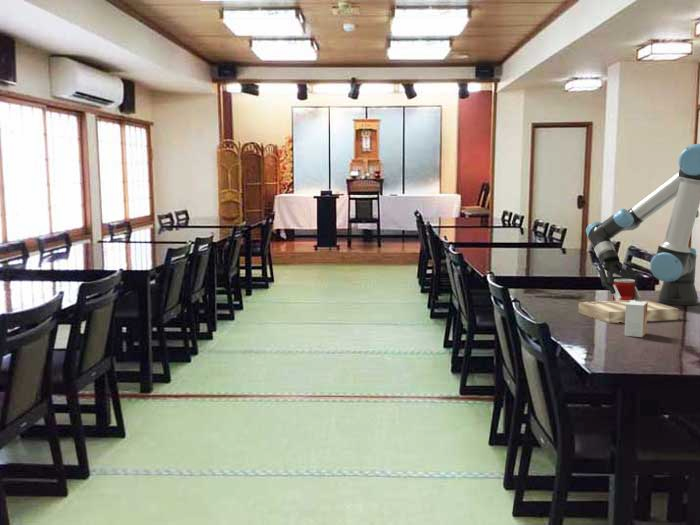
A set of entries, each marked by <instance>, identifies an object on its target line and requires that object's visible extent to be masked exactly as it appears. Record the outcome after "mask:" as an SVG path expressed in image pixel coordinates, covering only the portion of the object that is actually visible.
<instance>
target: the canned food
mask: <svg viewBox="0 0 700 525" xmlns="http://www.w3.org/2000/svg"><path fill="white" fill-rule="evenodd" d="M613 285H616V287H617V289H618V292H619V294H620V296H621V299H620V300H619V301H622V300H635V298H634V297H635V280H633V279H623V278H622V277H620V278H613ZM612 301H616V299H615V297H614V295H613V294H612Z"/></svg>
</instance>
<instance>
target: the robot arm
mask: <svg viewBox="0 0 700 525" xmlns="http://www.w3.org/2000/svg"><path fill="white" fill-rule="evenodd" d="M678 166H679V169H678V171H676V173H673V175H672V176H671V177H670V178H668V179H667V180H665V181H664V182H663V183H661V184H660V185H659V186H658V187H656V188H655V189H654V190H652V191H651V192H650V193H649V194H647V195H646V196H645V197H644V198H642V199H641V200H640V201H638V202H637V203H635V204H634V205H632V207H631V208H628V209H626V208H620V209H619V210H618V211H615V212H614V213H613V214H612V215H610V216H609V217H608V218H606V219H605V220H604V221H603V222H601V221H595V222H593V223H590V224H588V225H587V227H586V229H585V233H586V235H587V236H586V237H587V238H588V240H589V242H590V245H591V246H592V249H593V250H594V252H595V255H596V257H597V258H598V261H599V264H598V266H597V267H596V270H597V272H598V274H599V278H600V282H601V285H602V287H603V288H606V290H609V291H610V293H611V294H612V296H613V295H614V297H615V299H616V301H619V300H620V299H621V296H620V294H619V292H618V289H617V287H616V285H614V278H613V277H614V274H615V275H618V276H619V277H620V278H623V279H633V280H635V297H634V300H641V297H642V296H641V294H640V290H639V287H638V284H639V283H640V280H639V278H638V277H637V276H636V274H635V273H634V272H633V270H632V269H631V267H630V264H629V263H625V264H623V263H622V262H621V261H620V257H619V256H620V255H618V253H617V251H616V249H615V246H614V244H613V242H612V241H611V239H613V238H614V237H615V236H617V235H619V234H620V233H621V232H626V231H634V230H635V229H637V228H639V227H640V225H641V224H642V223H643V222H644V221H645V220H647V219H648V218H650V217H651V216H652V215H653V214H655V213H657V212H658V211H659V210H660V209H662V208H663V207H664V206H666V205H667V204H668V203H670V202H672V200H674V199H675V201H674V204H673V207H672V212H671V215H670V217H669V218H670V219H669V223H668V226H667V230H666V232H665V237H664V241H662V242H661V243H659V244H658V248H657V250H656V254H655V255H654V256H653V257H652V258H651V260H650V262H649V263H650V264H649V268H650V272H651V274H652V275H653V277H654V278H656V279H657V280H659V281H661V282H662V286H661V287H660V291H659V294H658V296H657V303H660V304H664V305H675V306H696V305H698V304H699V297H698V293H697V289H696V286H695V282H696V281H695V280H696V268H697V267H696V263H697V258H698V257H697V256H698V255H697V250H696V249H695V248H694V247H689V246H688V245H689V242H690V239H691V236H692V231H693V228H694V224H695V222H696V218H697V214H698V211H699V208H700V143H695V144H691V145H688V146H687V147H686V148H684V149H683V150H682V151H681V153H680V154H679V156H678Z"/></svg>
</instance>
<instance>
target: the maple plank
mask: <svg viewBox="0 0 700 525" xmlns="http://www.w3.org/2000/svg"><path fill="white" fill-rule="evenodd" d="M630 301H639V302H648V306H647V322H655V321H656V322H658V321H659V322H661V321H678V320H679V310H680V309H679V308H677V307H674V306H669V305H667V304H663V303H660V302H654V301H650V300H647V299H639V300H635V299H634V300H622V301H613V300H605V301H604V300H602V301H583V302H582V301H581V302H580V301H579V302H578V313H579V314H581V315H584V316H587V317H589V318H592V317H593V319H595V318H596V319H595V320H598V319H599V320H598V321H601V320H602V321H601V322H604V321H605V323H608V324H618V323H619V322H622V323H625V313H626V304H627V303H629V302H630Z"/></svg>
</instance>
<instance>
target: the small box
mask: <svg viewBox="0 0 700 525" xmlns="http://www.w3.org/2000/svg"><path fill="white" fill-rule="evenodd" d="M647 306H648V302H639V301H630V302H629V303H627V304H626V313H625V322H624V336H626V337H635V338H636V337H637V338H643V337H644V336H645V335H646V334H647V324H648V323H647V322H648V321H647Z"/></svg>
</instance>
